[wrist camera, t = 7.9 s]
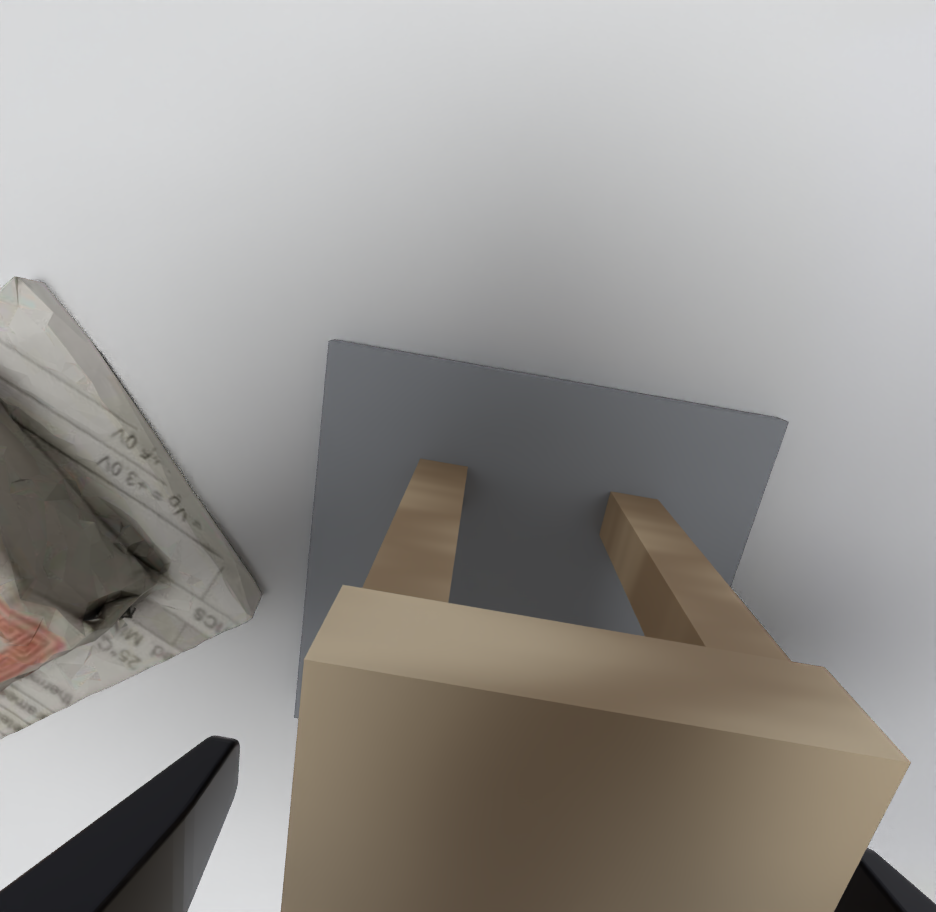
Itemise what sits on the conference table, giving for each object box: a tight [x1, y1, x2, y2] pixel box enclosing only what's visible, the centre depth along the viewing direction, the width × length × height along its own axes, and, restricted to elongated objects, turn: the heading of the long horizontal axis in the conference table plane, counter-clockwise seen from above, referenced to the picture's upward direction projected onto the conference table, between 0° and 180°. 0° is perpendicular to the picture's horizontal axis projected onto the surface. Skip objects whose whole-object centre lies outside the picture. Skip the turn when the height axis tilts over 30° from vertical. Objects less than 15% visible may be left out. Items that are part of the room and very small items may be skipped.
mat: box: [294, 340, 789, 718], centre depth 14 cm, size 11×11×1 cm
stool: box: [281, 459, 911, 912], centre depth 10 cm, size 6×6×8 cm
